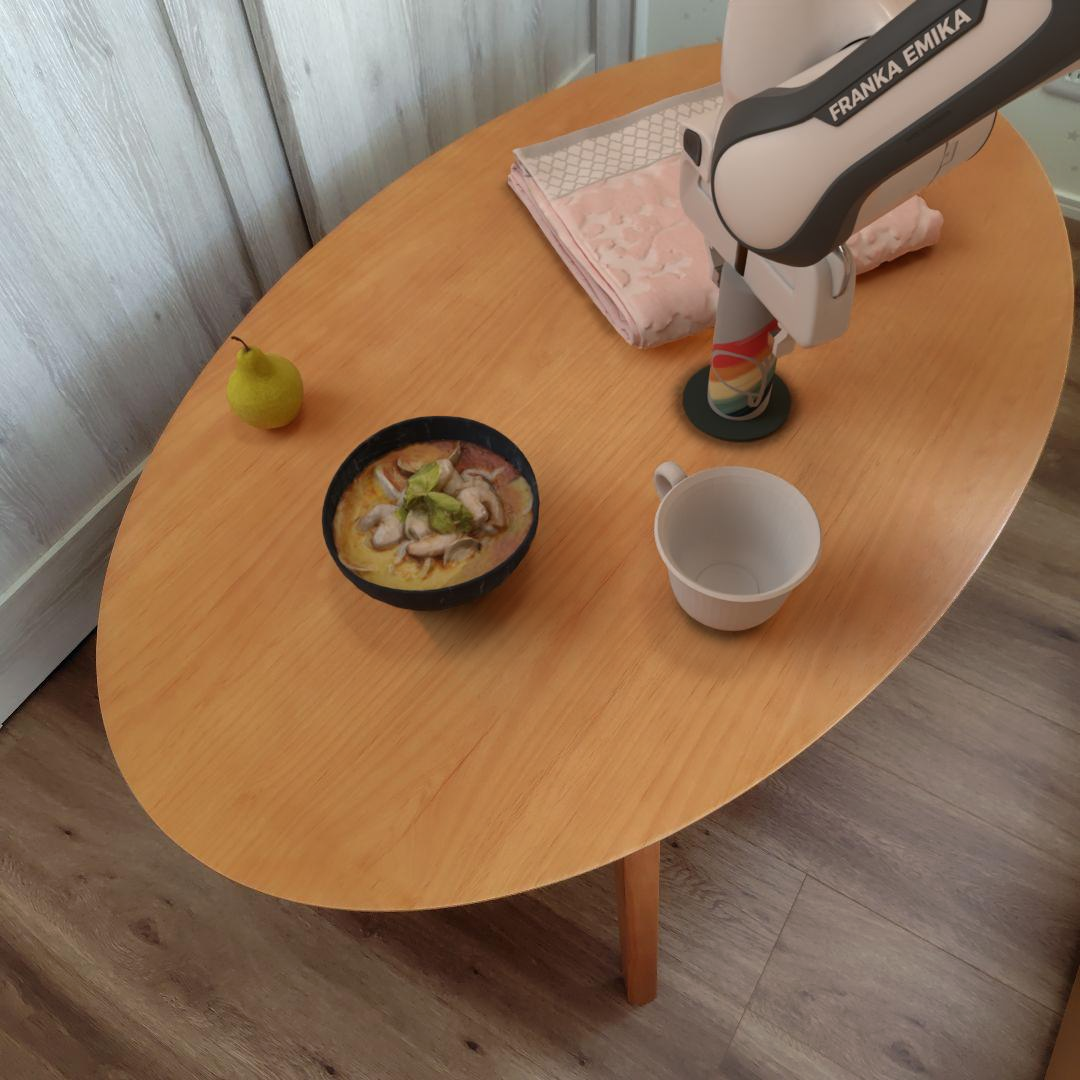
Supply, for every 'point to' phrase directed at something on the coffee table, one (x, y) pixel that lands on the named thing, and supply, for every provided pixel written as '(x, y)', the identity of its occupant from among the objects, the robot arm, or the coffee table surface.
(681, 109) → the towel
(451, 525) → the bowl
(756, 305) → the lotion bottle
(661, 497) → the teacup
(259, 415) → the fruit
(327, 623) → the coffee table surface
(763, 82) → the robot arm
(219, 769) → the coffee table surface
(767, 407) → the coaster
